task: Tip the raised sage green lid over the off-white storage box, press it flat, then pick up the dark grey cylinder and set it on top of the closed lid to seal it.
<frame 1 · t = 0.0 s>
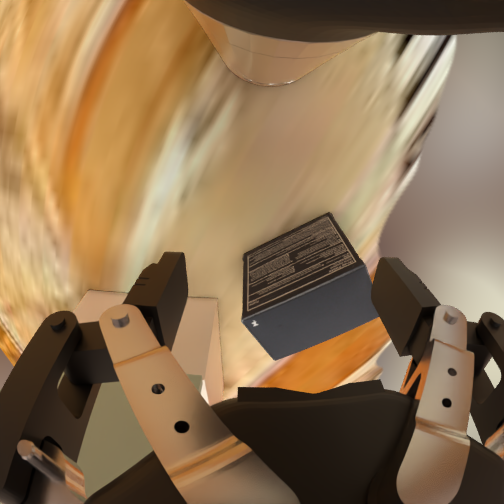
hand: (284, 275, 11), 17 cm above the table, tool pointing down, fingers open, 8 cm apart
lid: (67, 438, 13), point 22 cm above the table, hinge at 100.0°
small box: (297, 255, 31), on the table
storage box: (159, 343, 37), on the table
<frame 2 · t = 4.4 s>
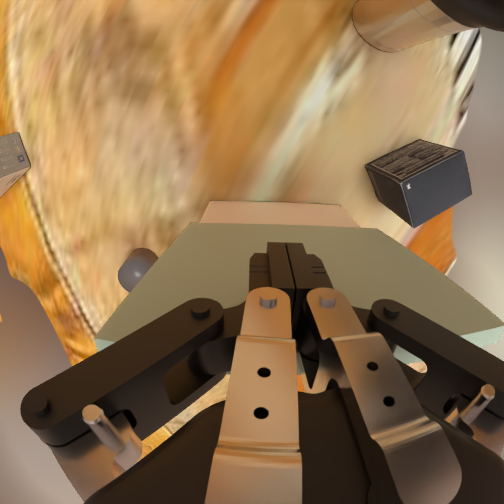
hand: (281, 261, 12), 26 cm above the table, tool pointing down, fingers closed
lid: (304, 266, 17), point 22 cm above the table, hinge at 97.6°
dark grey cylinder: (144, 262, 42), on the table
small box: (400, 170, 35), on the table
hard drive box: (5, 170, 34), on the table
storage box: (273, 260, 42), on the table
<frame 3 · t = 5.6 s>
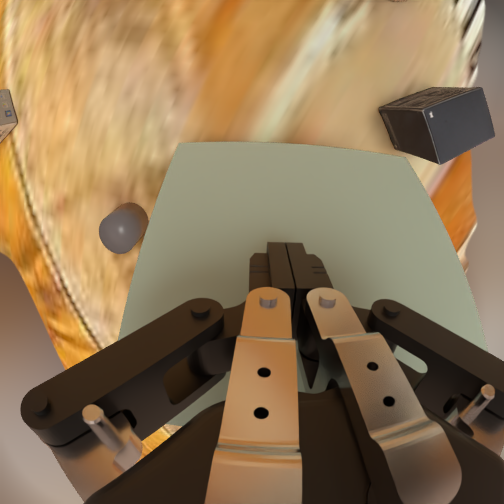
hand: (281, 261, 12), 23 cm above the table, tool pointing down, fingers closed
lid: (317, 244, 14), point 21 cm above the table, hinge at 63.4°, touching gripper
dark grey cylinder: (131, 220, 36), on the table
small box: (415, 117, 29), on the table
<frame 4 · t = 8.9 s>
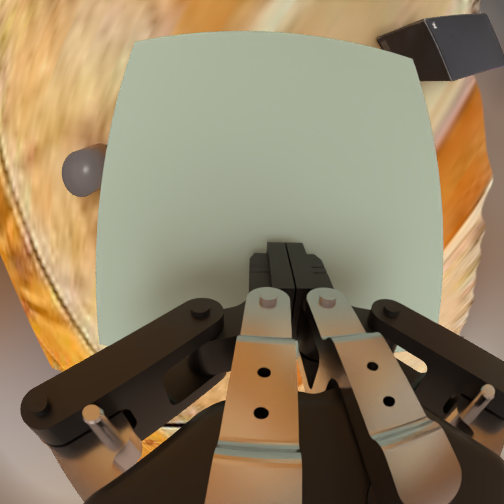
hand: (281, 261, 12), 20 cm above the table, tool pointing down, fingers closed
lid: (280, 168, 13), point 17 cm above the table, hinge at 29.4°, touching gripper
dark grey cylinder: (100, 164, 29), on the table
small box: (418, 52, 22), on the table
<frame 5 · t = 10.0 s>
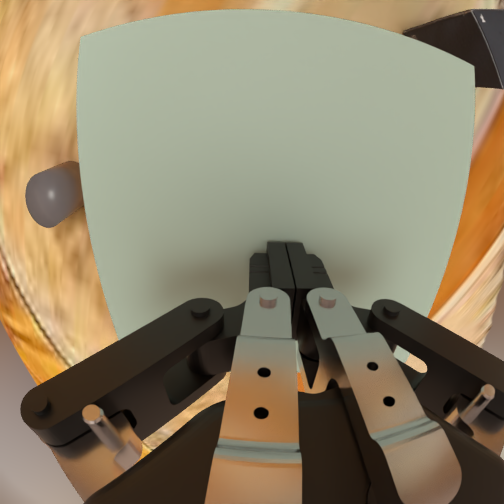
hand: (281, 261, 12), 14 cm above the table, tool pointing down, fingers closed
lid: (284, 223, 12), point 13 cm above the table, hinge at 1.2°, touching gripper
dark grey cylinder: (71, 185, 24), on the table
small box: (448, 52, 17), on the table
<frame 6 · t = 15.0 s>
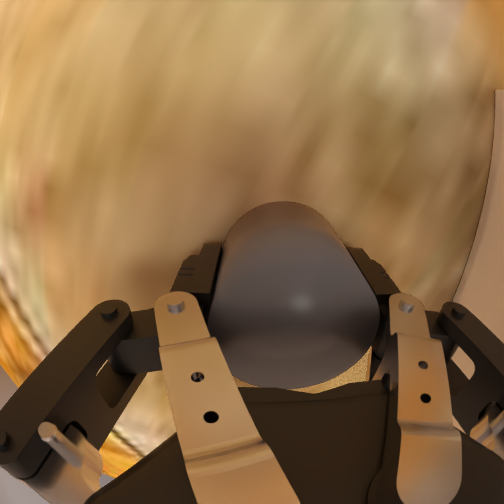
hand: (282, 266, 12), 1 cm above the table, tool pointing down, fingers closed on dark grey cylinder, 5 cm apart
dark grey cylinder: (281, 258, 12), on the table, touching gripper
when the fingers open (15 cm above the table, at t = 22.1 s): dark grey cylinder drops 1 cm, resting on lid.
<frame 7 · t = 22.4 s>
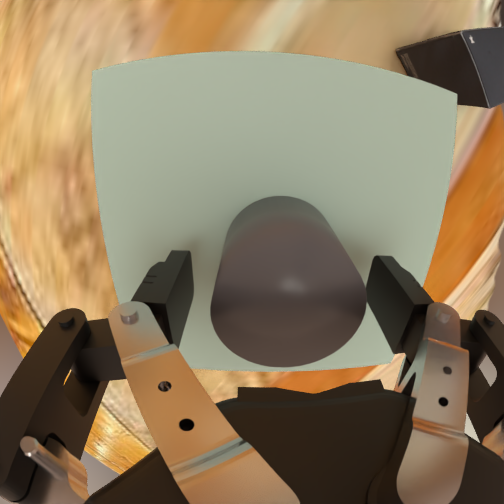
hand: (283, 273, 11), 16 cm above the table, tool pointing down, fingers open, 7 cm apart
lid: (278, 243, 14), point 13 cm above the table, hinge at 0.4°, touching dark grey cylinder
dark grey cylinder: (279, 248, 13), point 13 cm above the table, touching lid
small box: (440, 67, 19), on the table
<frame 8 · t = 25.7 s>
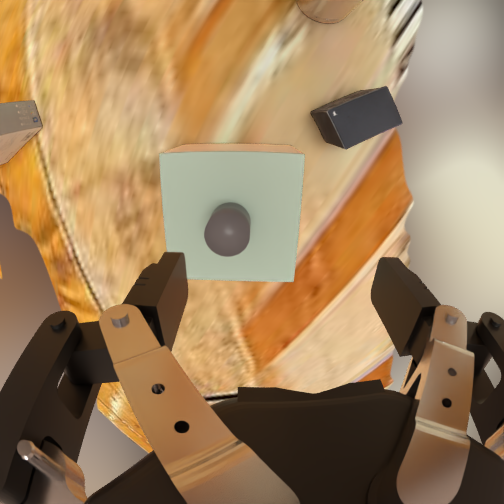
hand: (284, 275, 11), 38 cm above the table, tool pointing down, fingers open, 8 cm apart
lid: (230, 219, 37), point 13 cm above the table, hinge at 0.4°, touching dark grey cylinder
dark grey cylinder: (230, 221, 36), point 13 cm above the table, touching lid
small box: (343, 116, 42), on the table
hard drive box: (19, 132, 41), on the table
storage box: (236, 194, 48), on the table
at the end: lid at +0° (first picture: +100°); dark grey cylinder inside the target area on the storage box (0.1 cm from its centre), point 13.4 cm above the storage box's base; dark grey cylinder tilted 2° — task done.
